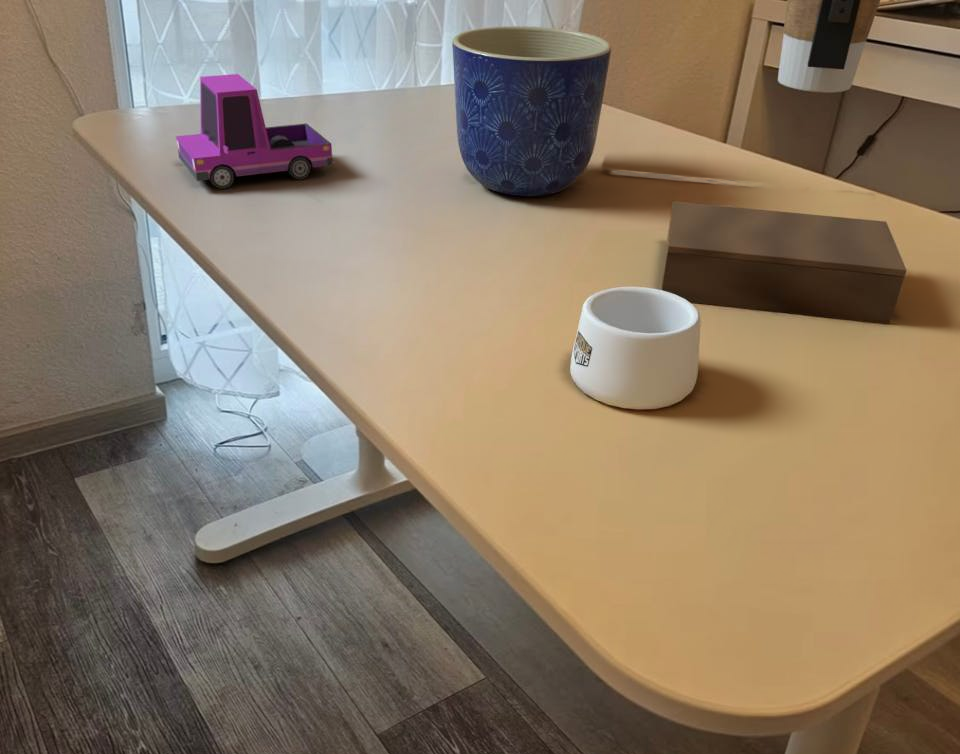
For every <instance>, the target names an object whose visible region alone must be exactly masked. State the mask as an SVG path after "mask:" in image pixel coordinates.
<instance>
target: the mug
mask: <svg viewBox="0 0 960 754" xmlns="http://www.w3.org/2000/svg"><path fill="white" fill-rule="evenodd" d="M701 324H702V320H701V315H700V311H699V310H698V309H697V307H696V306H695V305H694V304H692V302H688V301H687V300H686V299H684V298H681V297H679V296H677V295H675V294H672V293H669V292H666V291H663V290H661V289H657V288H652V287H643V286H618V287H617V286H616V287H612V288H611V287H610V288H607V289H604V290H600V291H597V292H595V293H593V294H591V295H590V296H588V297H587V299H586V300H585V301H584V303H583V305H582V309H581V313H580V317H579V322H578V326H577V327H578V328H577V331H576V336H575V339H574V344H573V348H572V353H571V359H570V365H569V366H570V368H569V369H570V375H571V378H572V380H573V382H574V383H575V384H576V387H578V388H579V389H580V390H581V391H582V392H583V393H584V394H585V395H587V396H589V397H590V398H592V399H593V400H595V401H598V402H600V403H603V404H606V405H608V406H613V407H617V408H622V409H629V410H656V409H662V408H666V407H670V406H673V405H675V404H677V403H679V402H681V401H682V400H684V399H685V398H686V397H687V396H689V394H691V393H692V392H693V390H694V388H695V385H696V383H697V378H698V374H699V373H698V372H699V357H700V356H699V355H700V340H701V339H700V338H701V326H702V325H701Z"/></svg>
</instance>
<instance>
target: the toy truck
mask: <svg viewBox="0 0 960 754" xmlns="http://www.w3.org/2000/svg"><path fill="white" fill-rule="evenodd" d="M199 82H200V83H199V85H200V86H199V90H200V91H199V95H200V98H199V99H200V103H199V105H200V107H199V108H200V110H199V111H200V112H199V113H200V133H195V134H185V135H175V140H176V147H177V153H178V158H179V160H180V161H181V162H182V163H183V165H184V166H185V167H186V169H187V170H188V172H189V173H190V174H191V175H192V176H193V178H194V179H195V180H196V181H197V182H201V181H209V182H210V183H211V184H212V185H213V186H214V187H215V188H217V189H218V190H219V189H220V190H225V189H227V188H230V187H231V186H232V184H233V183H234V180H235V179H234V178H235V176H236V177H244V176H252V175H261V174H270V173H278V172H287V173H288V174H289V175H290V176H291V177H292V178H294V180H299V181H301V180H304V179H306V178H307V177H308V176H309V175H310V173H311V169H312V168H320V167H329V166H333V164H334V163H333V149H332V148H333V147H332V143H331V142H330V141H329V140H328V139H326V138H325V137H324V136H323V135H322V134H321V133H319V132H318V131H316V129H314V128H313V127H311V126H310V125H309V124H308V123H306V122H305V123H296V124H286V125H285V124H284V125H276V126H267V127H266V123H265V119H264V114H263V110H262V106H261V105H262V104H261V101H260V98H259V93H258V89H257V88H256V87H255V86H254V85H252V84H251V83H250V82H248V80H246V79H245V78H244V77H242V75H240V74H239V73H233V74H220V75H218V74H216V75H205V76H204V75H203V76H200V77H199Z"/></svg>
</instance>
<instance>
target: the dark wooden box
mask: <svg viewBox="0 0 960 754" xmlns="http://www.w3.org/2000/svg"><path fill="white" fill-rule="evenodd" d="M667 230H668V231H667V237H666V245H665V252H664V258H663V259H664V261H663V267H662V268H663V269H662V277H661V288H660V290H663V291H666V292H669V293H672V294H675V295H677V296H679V297H681V298H684V299H686V300H687V301H688V302H690V303H695V304H703V305H704V304H705V305H713V306H720V307H721V306H722V307H731V308H741V309H749V310H758V311H765V312H766V311H768V312H777V313H787V314H795V315H804V316H813V317H821V318H830V319H841V320H850V321H857V322H866V323H867V322H869V323H878V324H886V325H890V324H891V321H892V318H893V315H894V312H895V309H896V305H897V302H898V300H899V296H900V293H901V290H902V287H903V284H904V281H905V277H906V274H907V268H906V265H905V263H904V261H903V258H902V256H901V253H900V251H899V249H898V247H897V244H896V241H895V239H894V237H893V233H892V232H891V230H890V227H889V225H888V222H887V221H884V220H874V219H863V218H855V217H854V218H853V217H844V216H843V217H842V216H832V215H822V214H810V213H802V212H801V213H800V212H791V211H790V212H789V211H779V210H770V209H769V210H768V209H759V208H758V209H757V208H749V207H748V208H747V207H738V206H725V205H718V204H717V205H716V204H707V203H706V204H705V203H695V202H686V201H685V202H683V201H675V200H674V201H672V205H671V211H670V218H669V223H668V229H667Z"/></svg>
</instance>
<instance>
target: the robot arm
mask: <svg viewBox="0 0 960 754" xmlns="http://www.w3.org/2000/svg"><path fill="white" fill-rule="evenodd" d="M860 1H861V0H822V1H821V5H820V10H819V15H818V19H817V24H816V28H815V33H814V37H813V42H812V46H811V51H810V55H809V60H808V64H807V65H808V67H816V68H830V69H843V70H844V67H845V63H846V59H847V55H848V51H849V46H850V42H851V38H852V34H853V30H854V26H855V22H856V18H857V13H858V9H859V5H860Z"/></svg>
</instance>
